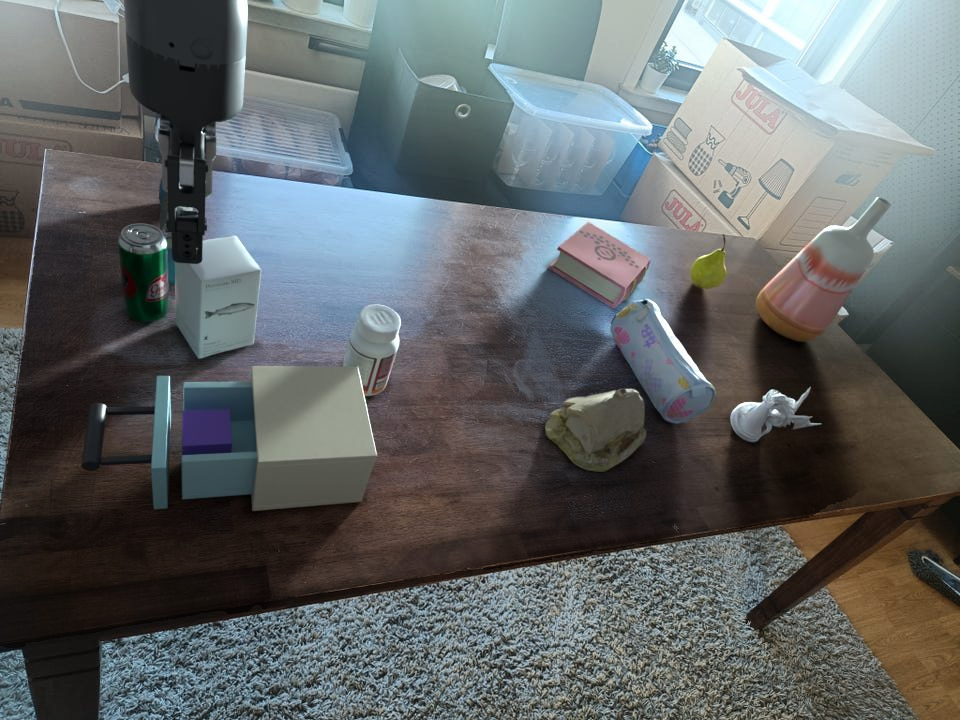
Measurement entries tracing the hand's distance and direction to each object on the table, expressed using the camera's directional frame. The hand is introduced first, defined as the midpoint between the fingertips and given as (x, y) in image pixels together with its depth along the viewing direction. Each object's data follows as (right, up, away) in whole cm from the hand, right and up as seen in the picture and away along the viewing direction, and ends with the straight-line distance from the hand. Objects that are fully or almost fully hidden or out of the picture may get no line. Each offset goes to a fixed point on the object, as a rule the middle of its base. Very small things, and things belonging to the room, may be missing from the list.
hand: (188, 229), depth 54 cm
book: (+47, +5, +67) cm, 83 cm away
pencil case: (+52, -14, +49) cm, 73 cm away
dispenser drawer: (-7, -22, +13) cm, 26 cm away
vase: (+87, -4, +76) cm, 116 cm away
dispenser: (+5, -22, +18) cm, 29 cm away
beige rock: (+41, -22, +36) cm, 58 cm away
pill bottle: (+9, -14, +30) cm, 34 cm away
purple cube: (-4, -21, +13) cm, 25 cm away
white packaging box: (-9, -8, +27) cm, 30 cm away
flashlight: (-19, +6, +37) cm, 42 cm away
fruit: (+70, +4, +77) cm, 105 cm away
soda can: (-18, -5, +27) cm, 32 cm away
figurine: (+69, -24, +47) cm, 86 cm away
